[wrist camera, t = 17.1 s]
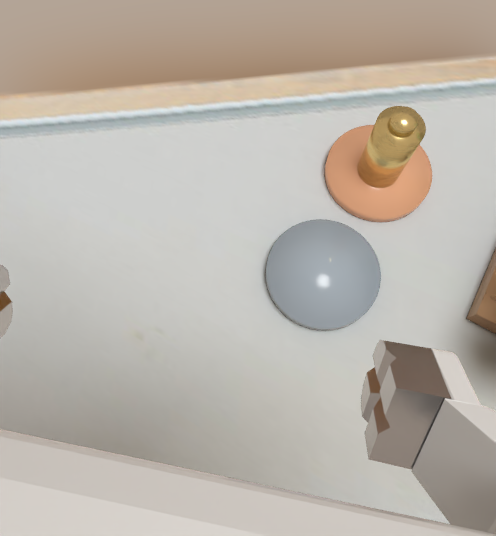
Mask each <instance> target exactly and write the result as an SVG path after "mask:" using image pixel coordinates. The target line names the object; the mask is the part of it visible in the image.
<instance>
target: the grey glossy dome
mask: <svg viewBox="0 0 496 536" xmlns="http://www.w3.org/2000/svg"><path fill="white" fill-rule="evenodd" d="M380 281H381V272H380V266H379V262H378V259H377V256H376V254H375V252H374V250H373V249H372V247H371V245H370V244H369V243H368V242H367V240H366V239H365V238H364V237H363V236H362V235H361V234H359V233H358V232H357V231H355V230H354V229H352V228H350V227H349V226H347V225H344V224H342V223H339V222H335V221H331V220H310V221H305V222H302V223H299V224H297V225H295V226H293V227H291V228H290V229H288V230H287V231H285V232H284V233H283V234H282V235H281V236H280V237H279V238H278V239H277V241H276V242H275V243H274V245H273V247H272V249H271V251H270V253H269V256H268V260H267V266H266V283H267V287H268V291H269V294H270V296H271V298H272V300H273V302H274V303H275V305H276V306H277V308H278V309H279V310H280V311H281V312H282V313H283V314H284V315H285V316H286V317H287V318H289V319H290V320H292V321H293V322H295V323H297V324H299V325H301V326H303V327H306V328H309V329H314V330H323V331H326V330H335V329H340V328H343V327H346V326H348V325H350V324H352V323H354V322H355V321H356V320H358V319H359V318H360V317H361V316H363V315H364V314H365V313H366V312H367V311H368V310H369V308H370V307H371V306H372V304H373V303H374V301H375V299H376V297H377V294H378V292H379V288H380Z"/></svg>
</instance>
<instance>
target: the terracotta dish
mask: <svg viewBox="0 0 496 536" xmlns="http://www.w3.org/2000/svg"><path fill="white" fill-rule="evenodd" d="M373 127H374V125H366V126H361V127H357V128H354V129H352V130H350V131H348V132H346V133H345V134H343V135H342V136H341V137H339V138H338V139H337V141H336V142H335V143H334V144H333V146H332V147H331V149H330V151H329V154H328V157H327V161H326V164H325V181H326V185H327V188H328V190H329V192H330V194H331V195H332V197H333V199H334V200H335V201H336V202H337V203H338V204H339V205H340V206H341V207H342V208H343V209H344V210H346V211H347V212H348V213H350V214H352V215H354V216H356V217H358V218H361V219H364V220H368V221H373V222H389V221H394V220H398V219H401V218H403V217H405V216H407V215H408V214H410V213H412V212H413V211H414V210H415V209H416V208H417V207H418V206H419V205H420V203H421V202H422V201H423V200H424V198H425V197H426V195H427V194H428V192H429V189H430V186H431V182H432V169H431V164H430V161H429V159H428V156H427V155H426V153H425V151H424V150H423V148H422V147H421V146H420V145H418V147H417V149H416V150H415V152H414V153H413V155H412V157H411V158H410V160H409V161H408V163H407V165H406V166H405V168H404V169H403V171H402V173H401V174H400V176H399V178H398V179H397V181H396V182H395V183H394V184H393V185H391V186H389V187H386V188H375V187H371V186H369V185H367V184H366V183H365V182H363V181H362V179H361V178H360V176H359V174H358V171H357V165H358V162H359V160H360V157H361V155H362V153H363V150H364V148H365V146H366V143H367V141H368V139H369V137H370V134H371V132H372V130H373Z"/></svg>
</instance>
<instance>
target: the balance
mask: <svg viewBox="0 0 496 536" xmlns="http://www.w3.org/2000/svg"><path fill="white" fill-rule="evenodd" d="M466 319H468V320H470V321H472V322H474V323H476V324H477V325H479V326H481V327H483V328H485V329H487V330H489V331H491V332H493V333H495V334H496V249H495V251H494V253H493V256H492V258H491V261H490V263H489V265H488V268H487V270H486V273H485V275H484V277H483V280H482V282H481V284H480V287H479V289H478V292H477V294H476V296H475V299H474V301H473V304H472V306H471V308H470V311H469V313H468V315H467V318H466Z"/></svg>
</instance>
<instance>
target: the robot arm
mask: <svg viewBox="0 0 496 536" xmlns="http://www.w3.org/2000/svg"><path fill="white" fill-rule="evenodd" d="M9 285H10V280H9V273H8V270H7V269H6V268H5V267H4V266H3V265H0V338H1V337H2V336H3V335H4V334H5V333H6V331H7V329H8V327H9V325H10V323H11V319H12V313H13V308H12V301H11V300H10V298H9V297H8V296H7V294H6V293H5V292H4V291H5V290H6V289H7V287H8V286H9ZM373 360H374V365H375V367H374V368H373V369H371V370H370V371H368V372H367V374H366V377H365V380H364V384H363V389H362V395H361V411H362V417H363V418H364V419H365V420H366V421H367V422H368V425H367V427H366V430H365V439H366V446H367V452H368V459H370V460H374V461H378V462H382V463H387V464H391V465H395V466H399V467H404V468H408V469H412V473H413V474H414V476H415V477H416V478H417V480H418V481H419V482H420V484H421V485H422V486H423V488H424V489H425V490H426V492H427V493H428V494H429V496H430V497H431V498H432V500H433V501H434V502H435V504H436V505H437V507H438V508H439V509H440V511H441V512H442V513H443V515H444V516H445V517H446V519H447V520H448V521H449V523H450V524H446V523H441V522H436V521H432V520H427V519H422V518H418V517H413V516H408V515H403V514H398V513H394V512H389V511H384V510H379V509H374V508H370V507H365V506H360V505H356V504H351V503H346V502H342V501H337V500H332V499H328V498H323V497H318V496H314V495H309V494H304V493H300V492H295V491H290V490H286V489H281V488H276V487H271V486H267V485H262V484H257V483H253V482H248V481H243V480H239V479H234V478H229V477H225V476H220V475H215V474H211V473H206V472H201V471H197V470H192V469H187V468H183V467H178V466H173V465H169V464H164V463H159V462H154V461H150V460H145V459H140V458H135V457H131V456H126V455H121V454H116V453H112V452H107V451H102V450H98V449H93V448H88V447H83V446H79V445H74V444H69V443H64V442H60V441H55V440H50V439H45V438H41V437H36V436H31V435H26V434H22V433H17V432H12V431H8V430H3V429H0V536H496V412H495V411H494V410H492V409H491V408H490V407H486V406H481V404H480V401H479V399H478V397H477V395H476V393H475V391H474V389H473V387H472V385H471V383H470V381H469V379H468V377H467V375H466V373H465V371H464V369H463V367H462V365H461V363H460V361H459V359H458V357H457V355H456V354H455V353H453V352H450V351H444V350H438V349H431V348H425V347H419V346H413V345H407V344H401V343H395V342H389V341H383V340H379V342H378V344H377V345H376V348H375V351H374V353H373Z"/></svg>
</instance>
